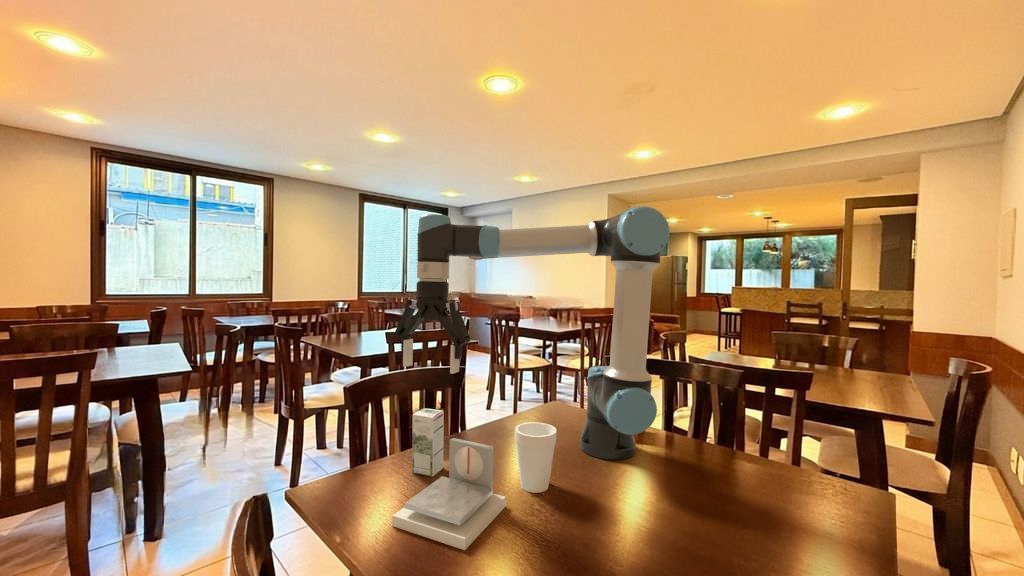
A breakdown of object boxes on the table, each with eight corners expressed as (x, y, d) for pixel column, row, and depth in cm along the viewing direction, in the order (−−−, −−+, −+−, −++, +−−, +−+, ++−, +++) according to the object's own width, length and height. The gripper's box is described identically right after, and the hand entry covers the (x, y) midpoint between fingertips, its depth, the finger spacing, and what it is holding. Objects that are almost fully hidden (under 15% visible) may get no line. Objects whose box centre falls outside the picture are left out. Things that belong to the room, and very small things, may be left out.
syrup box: (444, 467, 106) (444, 409, 106) (432, 478, 101) (432, 416, 100) (423, 464, 108) (424, 406, 108) (411, 474, 103) (411, 413, 102)
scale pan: (492, 494, 87) (492, 489, 87) (460, 525, 76) (460, 520, 76) (442, 480, 93) (442, 476, 93) (404, 508, 82) (404, 503, 82)
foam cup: (552, 498, 92) (553, 438, 92) (510, 493, 94) (511, 434, 94) (557, 478, 102) (558, 424, 101) (518, 474, 103) (519, 420, 103)
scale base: (505, 506, 89) (506, 449, 89) (464, 550, 74) (465, 481, 74) (441, 488, 96) (441, 435, 95) (392, 526, 81) (392, 463, 81)
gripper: (381, 278, 104) (379, 365, 105) (469, 282, 94) (467, 378, 94) (401, 279, 111) (399, 360, 112) (486, 282, 100) (483, 372, 101)
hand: (430, 369), depth 103 cm, fingers open, 13 cm apart
